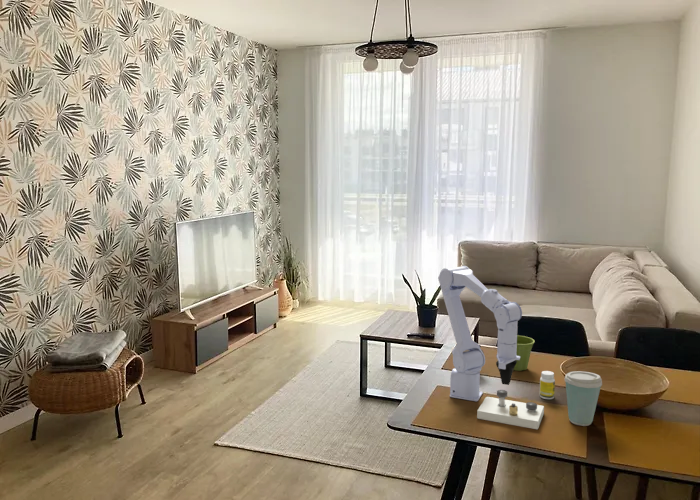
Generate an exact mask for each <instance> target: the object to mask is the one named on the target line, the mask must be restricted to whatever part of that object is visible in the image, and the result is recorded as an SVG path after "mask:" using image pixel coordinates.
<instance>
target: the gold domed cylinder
mask: <svg viewBox="0 0 700 500" xmlns="http://www.w3.org/2000/svg"><path fill="white" fill-rule="evenodd" d="M517 413H518V407H517V406H515V404H512V405H510V406H509V414H510V415H511V416H517Z"/></svg>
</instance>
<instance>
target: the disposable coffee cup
mask: <svg viewBox="0 0 700 500" xmlns="http://www.w3.org/2000/svg"><path fill="white" fill-rule="evenodd" d="M564 382H565V390H566V391H565V393H566V402H567V403H566V404H567V413H568V419H569V422H570V423H572V424H574V425H576V426H583V427H586V426H587V427H588V426H590V425H592V423H593V422H594V415H595V412H596V408H597V404H598V399H599V395H600V391H601V387H602V386H603V379H602V378H601V375H599V374H597V373H595V372H589V371H581V370H578V371H577V370H576V371H575V370H574V371H569V372H568V373H566V374H565V376H564Z"/></svg>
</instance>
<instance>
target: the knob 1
mask: <svg viewBox="0 0 700 500" xmlns="http://www.w3.org/2000/svg"><path fill="white" fill-rule="evenodd" d="M496 396H497V398H499V405H500V406H505V400H506V398H507V397H508V391H507V390H505V389H498V390H496Z"/></svg>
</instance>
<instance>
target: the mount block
mask: <svg viewBox="0 0 700 500" xmlns="http://www.w3.org/2000/svg"><path fill="white" fill-rule="evenodd" d="M526 403H527V402H522V401H517V400H511V399H505V406H500V405H499V397H492V396H491V397H490V396H486V397H485V398H484V400H483V401H482V403H481V404H480V406H479V407H478V409H477V411H476V412H477V413H476V414H477V415H476V418H477V419H479V420H483V421H484V420H485V421H489V422H495V423H499V424H506V425H510V426H517V427H521V428H528V429H533V430H538V429H539V427H540V425H541V422H542V419H543V416H544V414H545V412H544V411H545V406H544V405H539V404H537V409H536V410H535V412H528V409H527V408H526ZM512 404H515V406H517V407H518V413H517V416H511V415H510V414H509V406H510V405H512Z"/></svg>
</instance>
